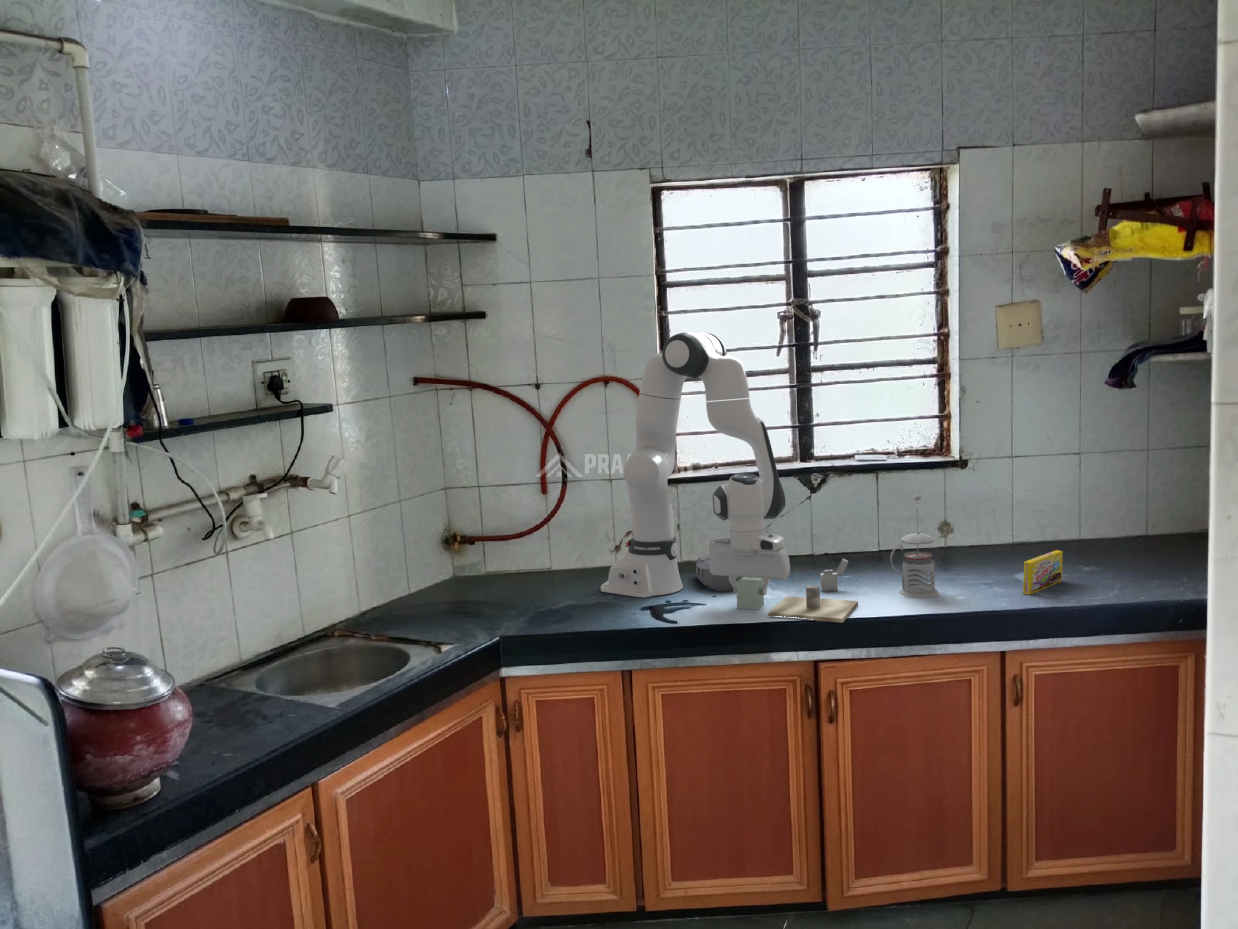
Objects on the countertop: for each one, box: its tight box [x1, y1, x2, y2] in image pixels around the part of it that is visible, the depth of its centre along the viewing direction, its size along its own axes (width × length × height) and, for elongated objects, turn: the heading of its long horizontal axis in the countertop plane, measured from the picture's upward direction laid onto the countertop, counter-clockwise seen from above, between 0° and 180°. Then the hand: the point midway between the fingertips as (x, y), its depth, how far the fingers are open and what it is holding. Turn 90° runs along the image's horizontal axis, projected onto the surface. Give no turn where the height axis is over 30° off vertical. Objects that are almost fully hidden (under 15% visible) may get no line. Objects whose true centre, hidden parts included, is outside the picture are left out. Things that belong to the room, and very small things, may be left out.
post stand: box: [767, 584, 859, 624], centre depth 239 cm, size 18×15×6 cm
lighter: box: [819, 558, 849, 592], centre depth 257 cm, size 7×2×8 cm, turn 87°
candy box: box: [1022, 549, 1064, 596], centre depth 247 cm, size 16×2×8 cm, turn 129°
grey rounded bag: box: [695, 553, 753, 592], centre depth 271 cm, size 15×8×20 cm
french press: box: [889, 494, 940, 599], centre depth 248 cm, size 10×12×25 cm
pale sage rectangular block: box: [736, 577, 765, 610], centre depth 246 cm, size 5×5×7 cm
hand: (750, 594), depth 247 cm, fingers closed on pale sage rectangular block, 5 cm apart
